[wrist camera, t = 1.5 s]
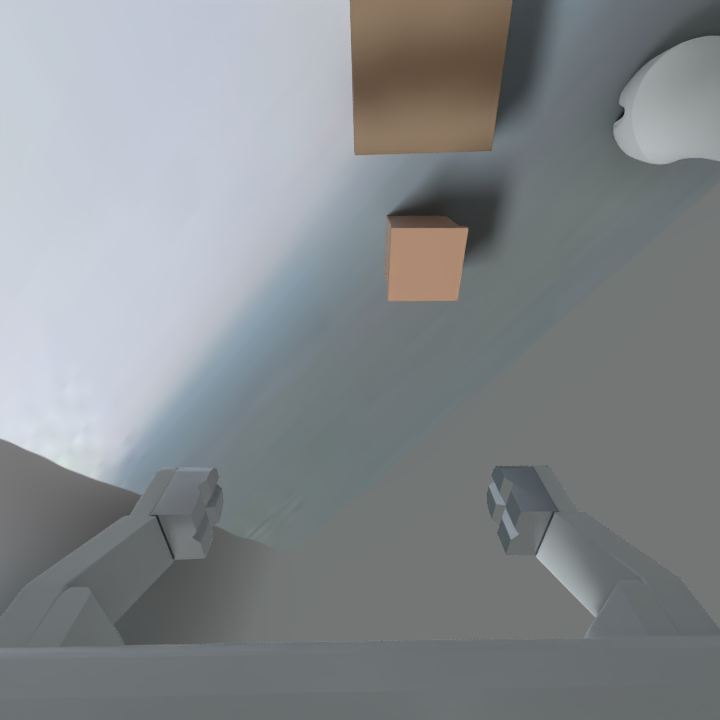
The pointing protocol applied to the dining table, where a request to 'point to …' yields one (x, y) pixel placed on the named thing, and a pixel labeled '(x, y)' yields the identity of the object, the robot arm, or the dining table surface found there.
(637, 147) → the water bottle
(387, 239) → the brown cardboard box
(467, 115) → the walnut box
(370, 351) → the dining table surface
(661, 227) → the dining table surface
